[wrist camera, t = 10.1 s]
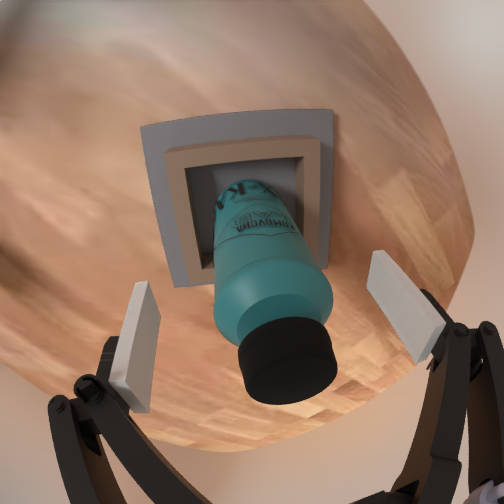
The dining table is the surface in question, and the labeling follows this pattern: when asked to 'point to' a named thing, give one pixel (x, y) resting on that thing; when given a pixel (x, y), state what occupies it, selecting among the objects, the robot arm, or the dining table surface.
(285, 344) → the beverage bottle
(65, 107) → the dining table surface
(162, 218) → the bottle stand
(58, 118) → the dining table surface
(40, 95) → the dining table surface
